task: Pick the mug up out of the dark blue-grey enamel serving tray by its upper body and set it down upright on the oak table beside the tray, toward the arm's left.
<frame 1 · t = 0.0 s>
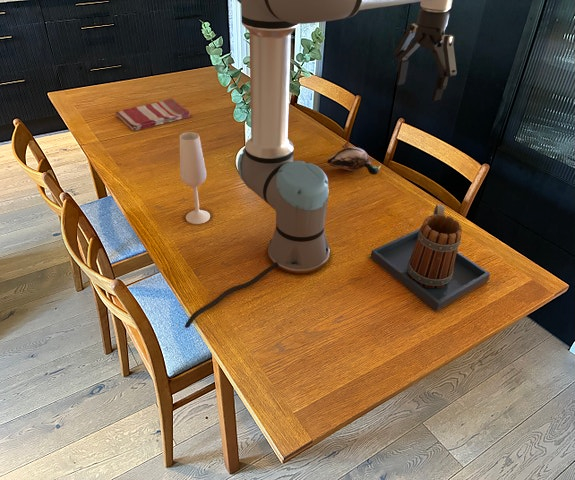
hand: (417, 91, 131), 28 cm above the table, tool pointing down, fingers open, 13 cm apart
dish towel: (153, 116, 179), on the table
mug: (427, 268, 114), resting on tray
decorative duck model: (351, 173, 150), on the table
champagne flute: (198, 217, 128), on the table
tray: (427, 269, 114), on the table
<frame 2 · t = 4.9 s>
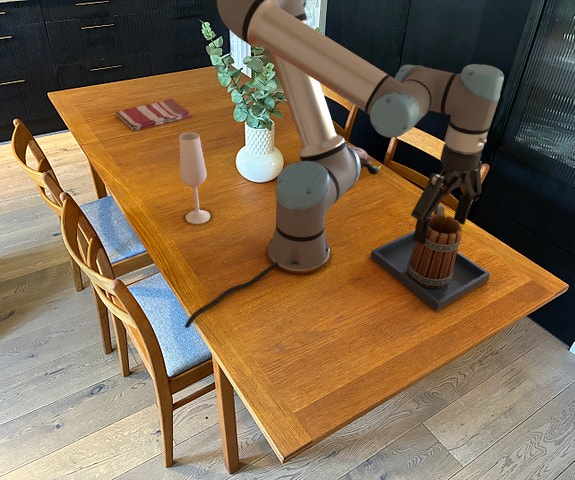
hand: (439, 231, 107), 12 cm above the table, tool pointing down, fingers open, 13 cm apart
mug: (427, 268, 114), resting on tray, touching gripper
everything else where it was.
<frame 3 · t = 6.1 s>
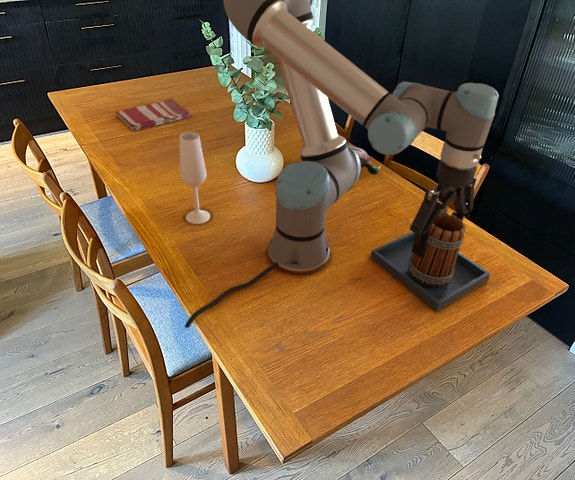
hand: (434, 245, 109), 8 cm above the table, tool pointing down, fingers closed on mug, 11 cm apart
mug: (427, 267, 114), resting on tray, touching gripper
everything else where it was.
when the fingers open (7 cm above the table, at t = 16.7 s): mug stays where it is, on the table.
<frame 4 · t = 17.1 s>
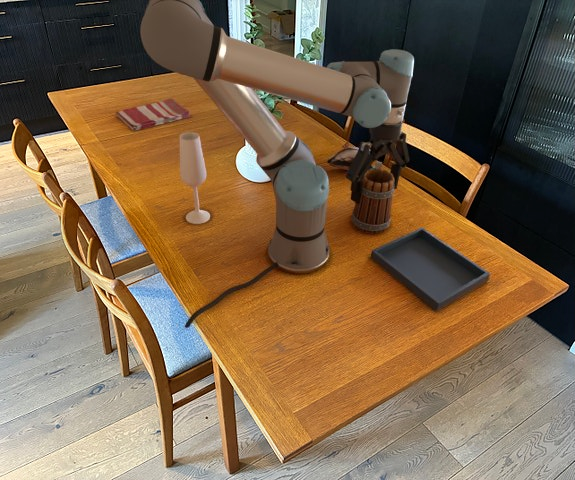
hand: (373, 193, 125), 8 cm above the table, tool pointing down, fingers open, 13 cm apart
mug: (370, 218, 131), on the table
everything else where it was.
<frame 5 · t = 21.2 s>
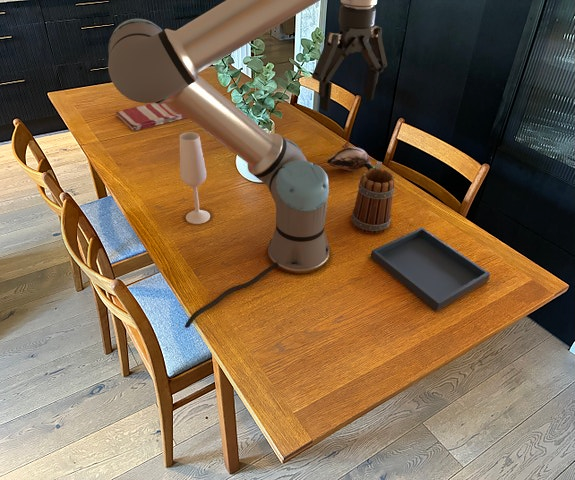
hand: (347, 103, 110), 33 cm above the table, tool pointing down, fingers open, 13 cm apart
nothing on the table moved.
at the end: mug inside the target area (0.6 cm from its centre), on the table; mug tilted 0°; mug touching table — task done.
